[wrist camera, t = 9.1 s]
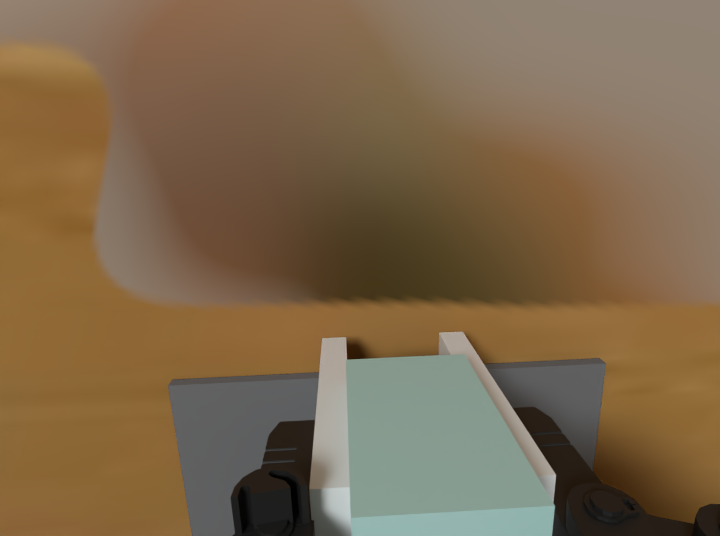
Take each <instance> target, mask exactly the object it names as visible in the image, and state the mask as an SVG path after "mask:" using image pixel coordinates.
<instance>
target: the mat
mask: <svg viewBox="0 0 720 536" xmlns="http://www.w3.org/2000/svg"><path fill="white" fill-rule="evenodd" d="M484 365H485V367H486V368H487V370H488V371H489V373H490V374H491V376H492V377H493V379H494V381H495V382H496V384H497V385H498V387H499V388H500V390H501V391H502V393H503V394H504V396H505V397H506V399H507V400H508V402H509V403H510V405H511V407H512V408H519V407H536V408H537V409H539V410H540V411H542V412H543V413H545V414H546V415H548V416H549V417H551V418H552V419H553V421H554V422H555V423H556V424H557V426H558V427H559V428H560V430H561V431H562V434H564V435H565V436H566V437H567V439H568V440H569V441H570V444H571V445H573V446H574V448H575V449H576V450H577V452H578V453H579V454H580V456H581V457H582V458H583V459H584V461H585V462H586V463H587V465H588V466H589V467H590V469H591V470H592V471H593V466H594V457H595V449H596V441H597V433H598V425H599V416H600V408H601V400H602V392H603V384H604V375H605V367H606V363H605V362H603V361H602V360H601V359H600V358H595V359H576V360H556V361H536V362H516V363H496V364H484ZM318 383H319V372H317V373H297V374H277V375H257V376H237V377H217V378H198V379H178V380H172V381H171V382H170V384H169V385H168V388H169V394H170V400H171V406H172V413H173V419H174V425H175V431H176V438H177V444H178V450H179V456H180V463H181V469H182V475H183V481H184V488H185V494H186V500H187V507H188V513H189V519H190V525H191V532H192V536H233V535H234V534H235V530H234V522H233V514H232V506H231V498H230V497H231V495H232V492H233V489H234V487H235V486H236V484H237V483H238V482H239V481H240V480H241V479H242V478H243V477H244V476H246V475H248V474H249V473H251V472H253V471H255V470H257V469H261V465H262V461H263V457H264V453H265V449H266V444H267V440H268V436H269V434H270V433H271V432H272V430H273V429H274V428H275V427H276V426H277V425H278V423H279V422H283V421H302V420H315V417H316V406H317V394H318Z"/></svg>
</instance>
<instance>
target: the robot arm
mask: <svg viewBox="0 0 720 536" xmlns="http://www.w3.org/2000/svg"><path fill="white" fill-rule="evenodd" d="M455 354H465V355H466V357H467V359H468V360H469V362H470V364H471V366H472V367H473V369H474V371H475V372H476V374H477V376H478V377H479V379H480V381H481V382H482V384H483V386H484V387H485V389H486V391H487V392H488V394H489V396H490V397H491V399H492V401H493V402H494V404H495V406H496V408H497V409H498V411H499V413H500V414H501V416H502V418H503V419H504V421H505V423H506V424H507V426H508V428H509V429H510V431H511V433H512V434H513V436H514V438H515V439H516V441H517V443H518V444H519V446H520V448H521V450H522V451H523V453H524V455H525V456H526V458H527V460H528V461H529V463H530V465H531V466H532V468H533V470H534V471H535V473H536V475H537V476H538V478H539V480H540V481H541V483H542V485H543V486H544V488H545V490H546V492H547V493H548V495H549V497H550V498H551V500H552V502H553V503H554V505H555V510H554V520H553V530H552V536H720V504H709V505H706V506H704V507H701V508H700V509H699V511H698V512H697V514H696V517H695V522H694V524H692V523H686V522H681V521H676V520H670V519H665V518H659V517H655V516H652V515H648V514H646V513H645V511H644V510H643V509H642V508H641V506H640V505H639V504H638V503H637V502H636V501H635V500H634V499H633V498H631V497H630V496H628V495H627V494H625V493H624V492H622V491H620V490H617V489H615V488H612V487H610V486H607V485H603V484H602V483H601V481H600V480H599V479H598V478H597V476H596V475H595V474H594V472H593V471H592V470H591V469H590V467H589V466H588V465H587V463H586V462H585V461H584V459H583V458H582V457H581V456H580V454H579V453H578V452H577V450H576V449H575V448H574V446H573V445H571V444H570V441H569V440H568V439H567V437H566V436H565V435H564V434H562V431H561V430H560V428H559V427H558V426H557V424H556V423H555V422H554V421H553V419H552V418H551V417H549V416H548V415H546V414H545V413H543V412H542V411H540V410H539V409H537V408H536V407H519V408H512V407H511V405H510V403H509V402H508V400H507V399H506V397H505V396H504V394H503V393H502V391H501V390H500V388H499V387H498V385H497V384H496V382H495V381H494V379H493V377H492V376H491V374H490V373H489V371H488V370H487V368H486V367H485V365H484V364H483V362H482V361H481V359H480V358H479V356H478V354H477V353H476V351H475V350H474V348H473V347H472V345H471V344H470V342H469V341H468V339H467V338H466V336H465V335H464V333H463V332H446V333H439V355H455ZM346 360H347V345H346V337H340V338H322V348H321V360H320V371H319V383H318V394H317V406H316V417H315V420H302V421H283V422H279V423H278V425H277V426H276V427H275V428H274V429H273V430H272V432H271V433H270V434H269V436H268V440H267V444H266V449H265V453H264V457H263V461H262V465H261V469H257V470H255V471H253V472H251V473H249V474H248V475H246V476H244V477H243V478H242V479H241V480H240V481H239V482H238V483H237V484H236V486H235V487H234V489H233V492H232V495H231V497H230V498H231V506H232V514H233V522H234V530H235V534H234V535H233V536H351V513H350V480H349V447H348V414H347V381H346Z"/></svg>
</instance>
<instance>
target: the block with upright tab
mask: <svg viewBox="0 0 720 536" xmlns="http://www.w3.org/2000/svg"><path fill="white" fill-rule="evenodd" d="M346 381H347V414H348V447H349V480H350V513H351V536H552V530H553V520H554V510H555V505H554V503H553V502H552V500H551V498H550V497H549V495H548V493H547V492H546V490H545V488H544V486H543V485H542V483H541V481H540V480H539V478H538V476H537V475H536V473H535V471H534V470H533V468H532V466H531V465H530V463H529V461H528V460H527V458H526V456H525V455H524V453H523V451H522V450H521V448H520V446H519V444H518V443H517V441H516V439H515V438H514V436H513V434H512V433H511V431H510V429H509V428H508V426H507V424H506V423H505V421H504V419H503V418H502V416H501V414H500V413H499V411H498V409H497V408H496V406H495V404H494V402H493V401H492V399H491V397H490V396H489V394H488V392H487V391H486V389H485V387H484V386H483V384H482V382H481V381H480V379H479V377H478V376H477V374H476V372H475V371H474V369H473V367H472V366H471V364H470V362H469V360H468V359H467V357H466V355H465V354H455V355H434V356H413V357H392V358H371V359H351V360H346Z"/></svg>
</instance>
